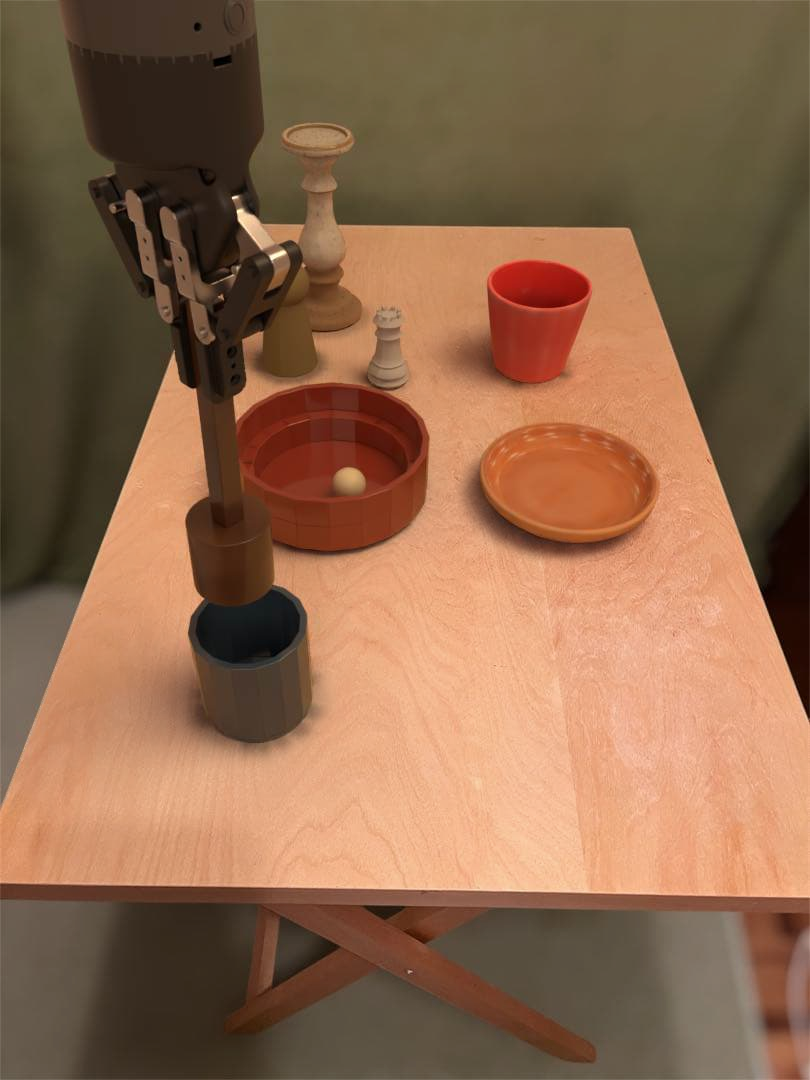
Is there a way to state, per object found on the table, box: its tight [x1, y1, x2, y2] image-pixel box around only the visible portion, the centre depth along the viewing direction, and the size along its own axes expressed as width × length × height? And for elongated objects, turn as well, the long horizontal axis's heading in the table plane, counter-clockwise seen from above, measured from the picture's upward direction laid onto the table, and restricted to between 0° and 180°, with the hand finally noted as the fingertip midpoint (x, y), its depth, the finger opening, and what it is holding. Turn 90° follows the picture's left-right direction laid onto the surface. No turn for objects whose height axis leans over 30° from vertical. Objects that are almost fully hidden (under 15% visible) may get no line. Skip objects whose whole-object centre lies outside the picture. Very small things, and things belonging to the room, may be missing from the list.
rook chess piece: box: [367, 305, 410, 390], centre depth 94 cm, size 4×4×8 cm
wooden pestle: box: [184, 296, 276, 607], centre depth 51 cm, size 5×5×19 cm
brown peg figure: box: [261, 265, 318, 378], centre depth 96 cm, size 6×6×11 cm
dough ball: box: [332, 467, 366, 497], centre depth 81 cm, size 3×3×3 cm
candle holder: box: [279, 122, 363, 332], centre depth 100 cm, size 9×9×20 cm
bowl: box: [236, 382, 431, 552], centre depth 81 cm, size 17×17×6 cm
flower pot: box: [486, 259, 593, 384], centre depth 97 cm, size 11×11×10 cm
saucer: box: [479, 421, 661, 544], centre depth 82 cm, size 16×16×3 cm
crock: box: [187, 584, 314, 743], centre depth 63 cm, size 8×8×8 cm
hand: (213, 387), depth 48 cm, fingers closed on wooden pestle, 1 cm apart
